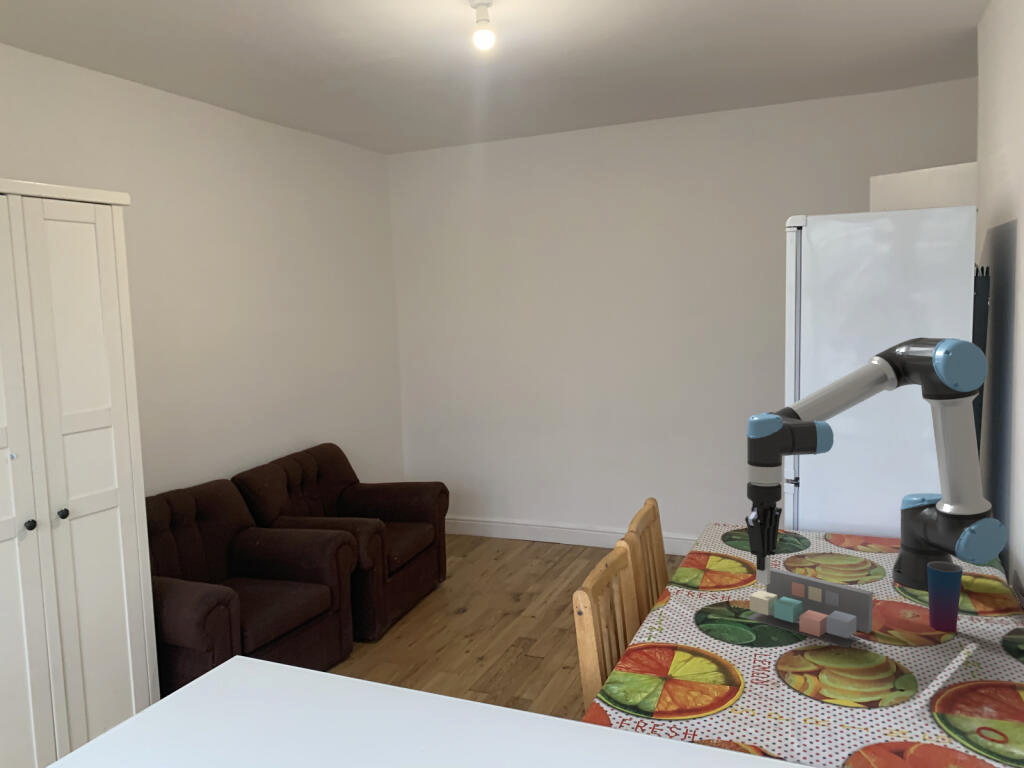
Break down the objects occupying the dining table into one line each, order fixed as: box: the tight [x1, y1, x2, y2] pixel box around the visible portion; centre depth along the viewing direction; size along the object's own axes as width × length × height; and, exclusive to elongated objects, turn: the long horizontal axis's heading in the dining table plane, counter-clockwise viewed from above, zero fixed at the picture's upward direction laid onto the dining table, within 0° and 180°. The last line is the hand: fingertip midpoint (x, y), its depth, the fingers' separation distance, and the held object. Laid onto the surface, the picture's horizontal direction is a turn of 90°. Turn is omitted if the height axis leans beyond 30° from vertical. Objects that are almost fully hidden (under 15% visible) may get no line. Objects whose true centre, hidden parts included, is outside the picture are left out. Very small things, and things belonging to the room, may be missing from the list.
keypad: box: [747, 566, 874, 649], centre depth 171 cm, size 16×24×10 cm, turn 44°
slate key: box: [826, 611, 857, 638], centre depth 164 cm, size 4×4×4 cm
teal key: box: [773, 597, 802, 622], centre depth 172 cm, size 4×4×4 cm
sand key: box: [749, 589, 777, 615], centre depth 177 cm, size 4×4×4 cm
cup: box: [927, 561, 963, 634], centre depth 168 cm, size 7×7×15 cm
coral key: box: [799, 610, 828, 637], centre depth 168 cm, size 4×4×4 cm
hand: (763, 582), depth 176 cm, fingers closed
